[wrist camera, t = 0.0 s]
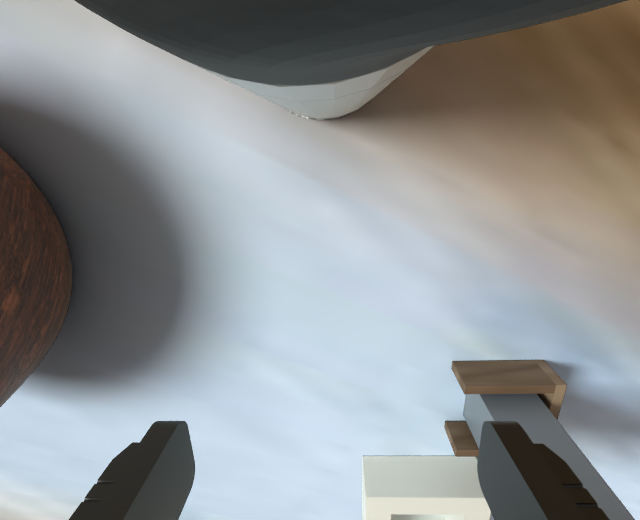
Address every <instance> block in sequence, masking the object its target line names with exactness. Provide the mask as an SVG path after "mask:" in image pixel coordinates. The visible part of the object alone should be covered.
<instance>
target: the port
mask: <svg viewBox="0 0 640 520" xmlns="http://www.w3.org/2000/svg"><path fill="white" fill-rule="evenodd" d="M477 463H478V461H477V458H476V457H456V456H362V520H489V519H490V515H491V511H490V508H489V506H488V504H487V502H486V500H485V497H484V495H483V493H482V490H481V487H480V483H479V479H478V472H477Z"/></svg>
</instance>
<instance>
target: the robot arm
mask: <svg viewBox="0 0 640 520" xmlns="http://www.w3.org/2000/svg"><path fill="white" fill-rule="evenodd" d="M75 1H76V2H78V3H79V4H81V5H82V6H84V7H86V8H87V9H89V10H91V11H92V12H94V13H96V14H98V15H99V16H101V17H103V18H104V19H106V20H108V21H110V22H111V23H113V24H115V25H117V26H118V27H120V28H122V29H123V30H125V31H127V32H129V33H131V34H133V35H135V36H137V37H139V38H140V39H142V40H145V41H147V42H149V43H151V44H153V45H155V46H157V47H159V48H161V49H163V50H165V51H167V52H169V53H171V54H173V55H175V56H177V57H179V58H181V59H183V60H186V61H188V62H190V63H192V64H194V65H196V66H198V67H200V68H202V69H204V70H206V71H208V72H210V73H212V74H214V75H216V76H218V77H220V78H222V79H225V80H227V81H229V82H231V83H233V84H235V85H237V86H239V87H241V88H243V89H246V90H248V91H250V92H252V93H254V94H256V95H258V96H260V97H262V98H264V99H266V100H268V101H270V102H272V103H274V104H276V105H278V106H280V107H282V108H284V109H286V110H288V112H290V113H292V114H295V115H297V116H300V117H306V118H309V119H316V120H319V119H320V120H327V119H333V118H339V117H342V116H345V115H348V114H350V113H352V112H354V111H356V110H358V109H360V108H361V107H362V106H363V105H364V104H366V103H367V102H368V101H370V100H371V99H372V98H374V97H375V96H376V95H377V94H378V93H380V92H381V91H382V90H383V89H384V88H385V87H387V86H388V85H389V84H390V83H391V82H393V81H394V80H395V79H396V78H397V77H398V76H400V75H401V74H402V73H403V72H404V71H405V70H407V69H408V68H409V67H410V66H411V65H413V64H414V63H415V62H416V61H417V60H418V59H420V58H421V57H422V56H423V55H424V54H425V53H427V52H428V51H429V50H430V49H431V48H432V47H434V46H435V45H441V44H446V43H451V42H456V41H462V40H467V39H472V38H477V37H482V36H487V35H491V34H496V33H501V32H506V31H510V30H515V29H520V28H524V27H528V26H532V25H537V24H541V23H545V22H549V21H553V20H557V19H561V18H565V17H569V16H573V15H577V14H581V13H585V12H588V11H592V10H595V9H599V8H602V7H606V6H609V5H613V4H616V3H620V2H623V1H627V0H75ZM477 472H478V479H479V483H480V487H481V490H482V493H483V495H484V497H485V500H486V502H487V504H488V506H489V508H490V511H491V513H492V515H493V517H494V520H610V519H609V518H608V517H607V515H606V514H605V513H604V511H603V510H602V509H601V508H599V507H598V505H597V502H596V501H595V500H594V498H593V497H592V496H591V494H590V493H589V492H588V490H587V489H586V488H583V484H582V483H581V481H580V480H579V479H578V477H577V476H576V475H575V473H574V472H573V471H572V469H571V468H570V467H569V466H568V464H567V463H566V462H565V461H564V460H563V459H562V458H560V457H559V456H558V455H557V454H555V453H554V452H553V451H552V450H550V449H549V448H548V447H547V446H546V445H544V444H533V442H532V441H531V439H530V438H529V436H528V435H527V434H526V432H525V431H524V429H523V428H522V427H521V425H520V424H519V423H518V422H516V421H485V422H484V423H483V425H482V432H481V440H480V447H479V455H478V463H477ZM194 475H195V461H194V456H193V451H192V446H191V440H190V435H189V430H188V426H187V423H186V422H185V421H157V422H155V423H154V424H153V425H152V426H151V427H150V429H149V430H148V432H147V433H146V435H145V436H144V437H143V439H142V440H141V442H140V443H131V444H130V445H129V446H128V447H127V448H126V449H124V450H123V451H122V452H121V453H120V454H119V455H117V456H116V457H115V458H114V459H113V460H112V461H111V462H110V464H109V465H108V467H107V468H106V469H105V471H104V472H103V473H102V475H101V476H100V478H99V479H98V482H97V484H94V486H93V487H92V489H91V490H90V491H89V493H88V494H87V495H86V497H85V500H84V502H81V504H80V505H79V506H78V508H77V509H76V511H75V512H74V513H73V515H72V516H71V517H70V519H69V520H178V519H179V516H180V514H181V512H182V509H183V507H184V505H185V502H186V500H187V498H188V495H189V493H190V491H191V488H192V485H193V481H194Z"/></svg>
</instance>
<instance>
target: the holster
mask: <svg viewBox="0 0 640 520" xmlns="http://www.w3.org/2000/svg"><path fill="white" fill-rule="evenodd" d="M452 370H453V372H454V374H455V376H456V378H457V380H458V382H459V384H460V386H461V388H462V390H463V392H464V394H537V395H538V396H539V398H540V399H541V400H542V401H543V403H544V404H545V405H546V407H547V408H548V409H549V410H550V412H551V413H552V414H553V416H554V417H555V418H556V419H558V415H559V412H560V408H561V405H562V401H563V398H564V394H565V391H566V387H567V384H566V383H565V382H564V381H563V380H562V379H561V378H560V377H559V376H558V375H557V374H556V373H555V372H554V371H553V369H552V368H551V367H550V366H549V365H548V364H547V363H546V362H545V361H544V360H502V361H453V362H452ZM445 430H446V433H447V435H448V438H449V441H450V443H451V446H452V448H453V451H454V454H455V456H456V457H478V455H479V448H478V446H477V444H476V442H475V439H474V437H473V435H472V433H471V431H470V429H469V426H468V424H467V422H466V421H445Z"/></svg>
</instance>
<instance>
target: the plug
mask: <svg viewBox="0 0 640 520" xmlns="http://www.w3.org/2000/svg"><path fill="white" fill-rule="evenodd" d="M463 416H464V418H465V420H466V422H467V424H468V426H469V429H470V431H471V433H472V435H473V437H474V439H475V442H476V444H477V446H478V448H479V447H480V440H481V432H482V425H483V423H484V422H485V421H516V422H518V423H519V424H520V425H521V427H522V428H523V429H524V431H525V432H526V434H527V435H528V436H529V438H530V439H531V441H532V442H533V444H544V445H546V446H547V447H548V448H549V449H550V450H552V451H553V452H554V453H555V454H557V455H558V456H559V457H560V458H562V459H563V460H564V461H565V462H566V463H567V464H568V466H569V467H570V468H571V469H572V471H573V472H574V473H575V475H576V476H577V477H578V479H579V480H580V481H581V483H582V484H583V488H586V489H587V490H588V492H589V493H590V494H591V496H592V497H593V498H594V500H595V501H596V502H597V505H598V507H599V508H601V509H602V510H603V511H604V513H605V514H606V515H607V517H608V518H609V519H610V520H635V519H634V518H633V517H632V515H631V514H630V513H629V511H628V510H627V509H626V508H625V506H624V505H623V504H622V502H621V501H620V500H619V499H618V497H617V496H616V495H615V494H614V492H613V491H612V490H611V488H610V487H609V486H608V485H607V483H606V482H605V481H604V479H603V478H602V477H601V476H600V474H599V473H598V472H597V470H596V469H595V468H594V467H593V465H592V464H591V463H590V462H589V460H588V459H587V458H586V456H585V455H584V454H583V453H582V451H581V450H580V449H579V447H578V446H577V445H576V444H575V442H574V441H573V440H572V439H571V437H570V436H569V435H568V433H567V432H566V431H565V430H564V428H563V427H562V426H561V424H560V423H559V422H558V421H557V419H556V418H555V417H554V416H553V414H552V413H551V412H550V410H549V409H548V408H547V407H546V405H545V404H544V403H543V401H542V400H541V399H540V398H539V396H538V395H537V394H466V398H465V405H464V411H463Z"/></svg>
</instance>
